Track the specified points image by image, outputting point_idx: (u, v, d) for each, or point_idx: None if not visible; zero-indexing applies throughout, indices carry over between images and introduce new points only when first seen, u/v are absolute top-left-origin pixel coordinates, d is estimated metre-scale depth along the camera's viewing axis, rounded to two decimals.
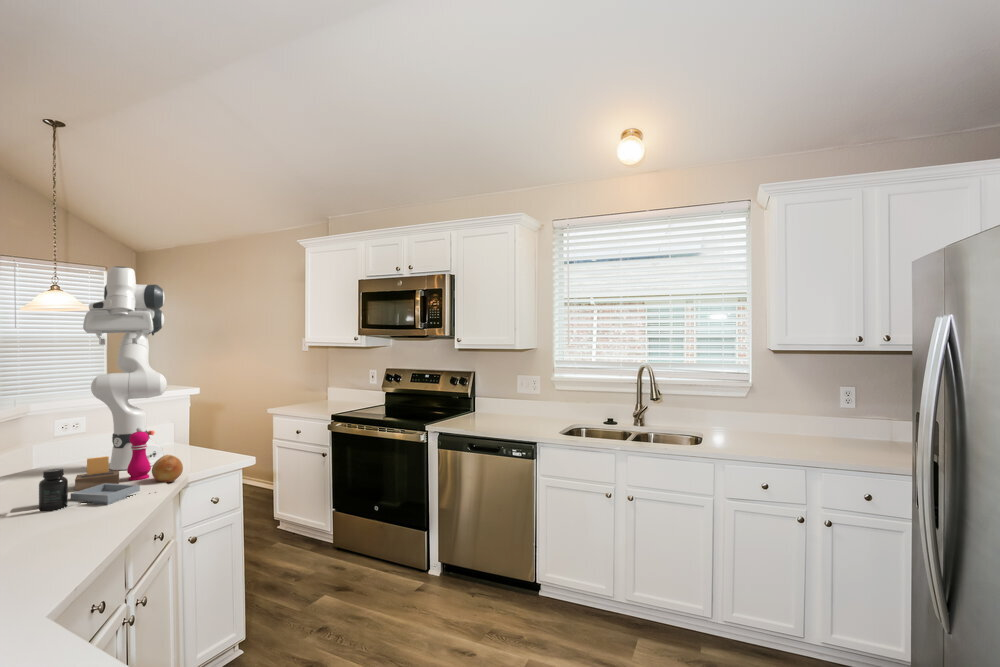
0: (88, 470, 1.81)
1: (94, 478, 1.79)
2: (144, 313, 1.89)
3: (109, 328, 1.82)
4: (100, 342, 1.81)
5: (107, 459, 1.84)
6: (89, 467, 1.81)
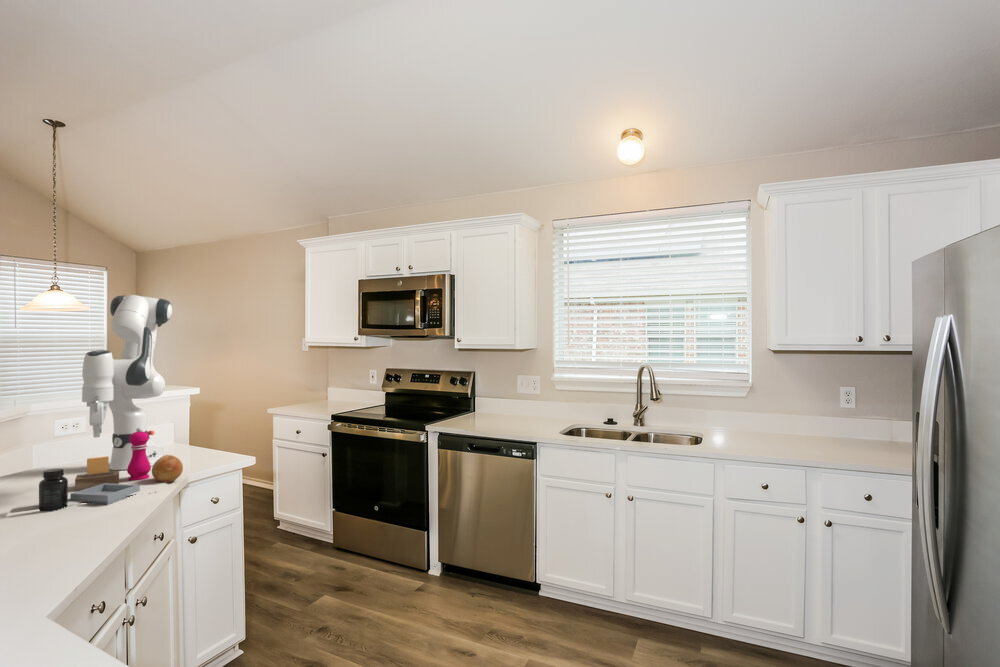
0: (88, 470, 1.81)
1: (94, 478, 1.79)
2: (90, 407, 1.76)
3: None
4: None
5: (107, 459, 1.84)
6: (89, 467, 1.81)
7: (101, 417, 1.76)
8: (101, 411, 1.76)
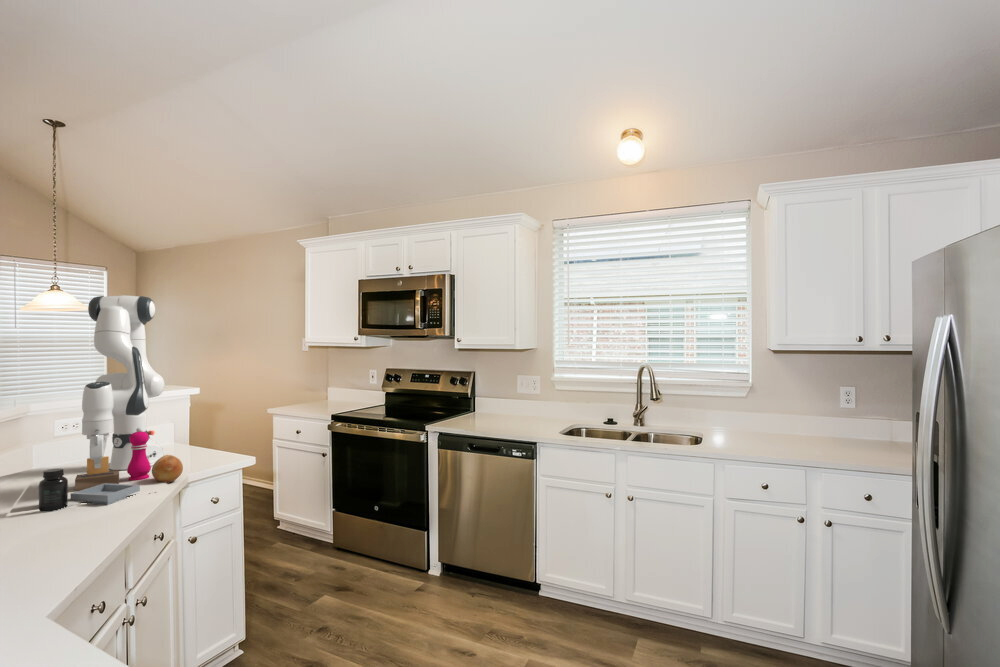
0: (88, 470, 1.81)
1: (94, 478, 1.79)
2: (90, 440, 1.76)
3: None
4: None
5: (107, 459, 1.84)
6: (89, 467, 1.81)
7: (101, 451, 1.76)
8: (101, 445, 1.76)
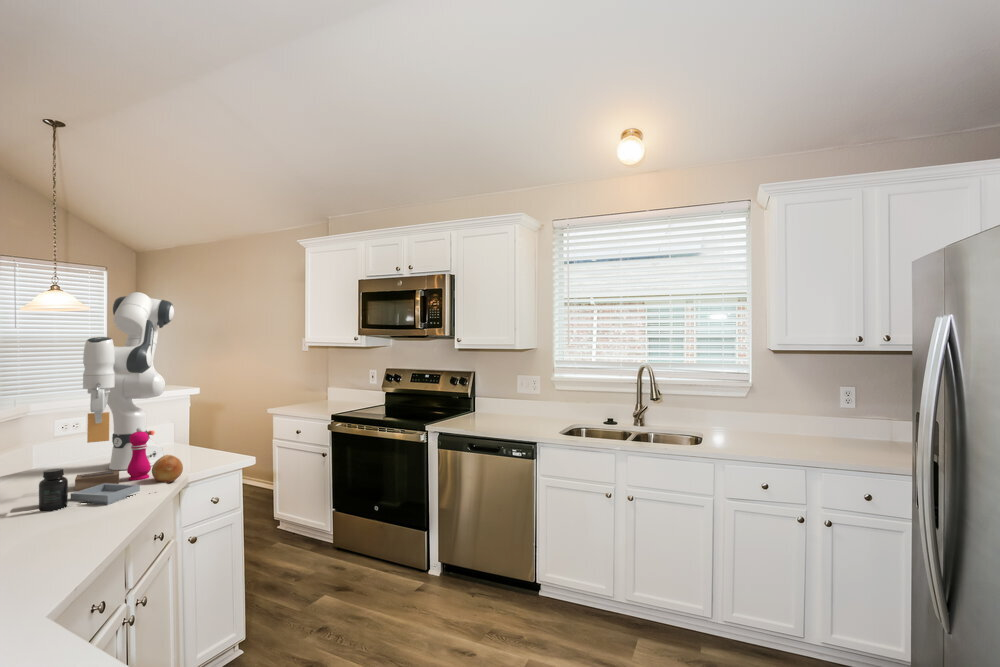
0: (89, 425, 1.80)
1: (94, 478, 1.79)
2: (90, 393, 1.75)
3: None
4: None
5: (108, 415, 1.83)
6: (90, 422, 1.80)
7: (102, 404, 1.74)
8: (102, 398, 1.75)
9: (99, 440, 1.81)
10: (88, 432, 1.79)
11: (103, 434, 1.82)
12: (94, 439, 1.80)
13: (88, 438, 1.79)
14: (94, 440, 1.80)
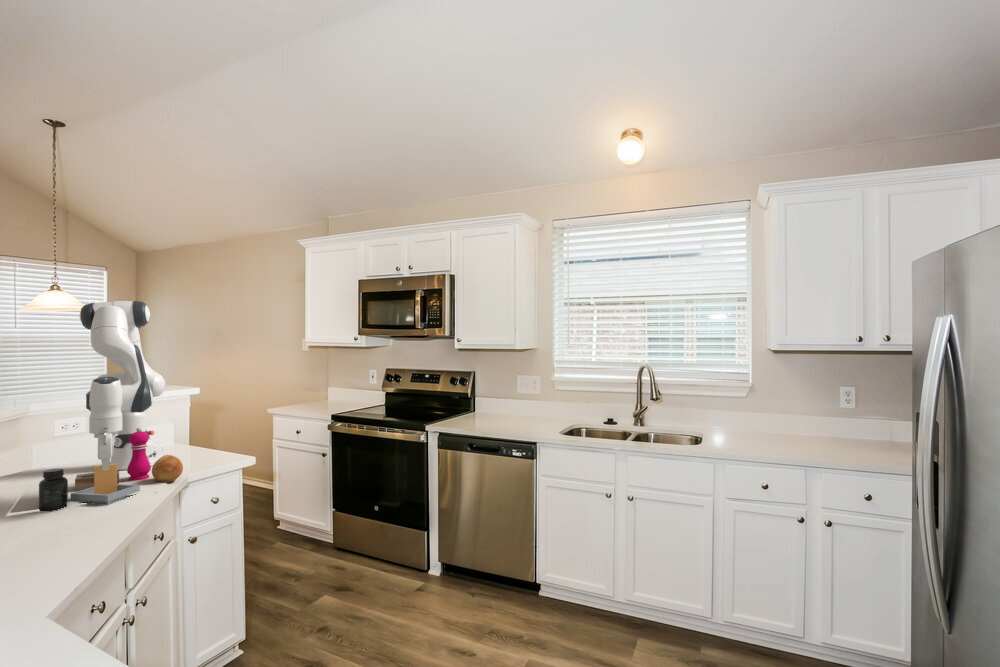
0: (95, 478, 1.70)
1: None
2: None
3: None
4: None
5: (115, 467, 1.73)
6: (96, 475, 1.70)
7: (110, 450, 1.65)
8: (110, 444, 1.65)
9: None
10: (95, 486, 1.70)
11: (111, 487, 1.72)
12: (101, 493, 1.71)
13: (95, 492, 1.70)
14: None
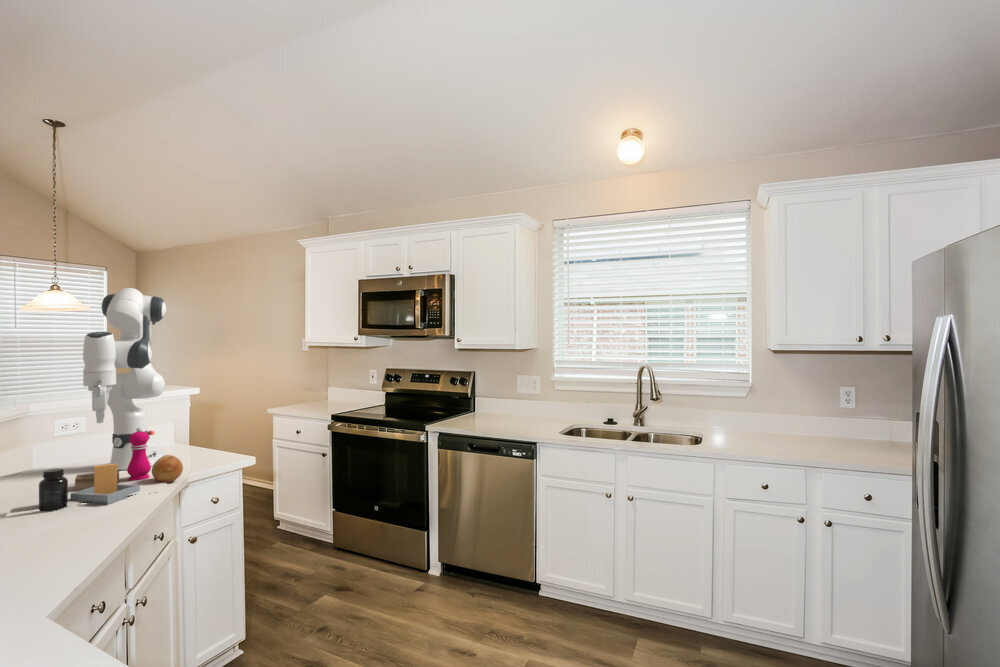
0: (95, 478, 1.70)
1: None
2: (92, 391, 1.68)
3: None
4: None
5: (115, 467, 1.73)
6: (96, 475, 1.70)
7: (104, 402, 1.68)
8: (104, 396, 1.68)
9: None
10: (95, 486, 1.70)
11: (111, 487, 1.72)
12: (101, 493, 1.71)
13: (95, 492, 1.70)
14: None
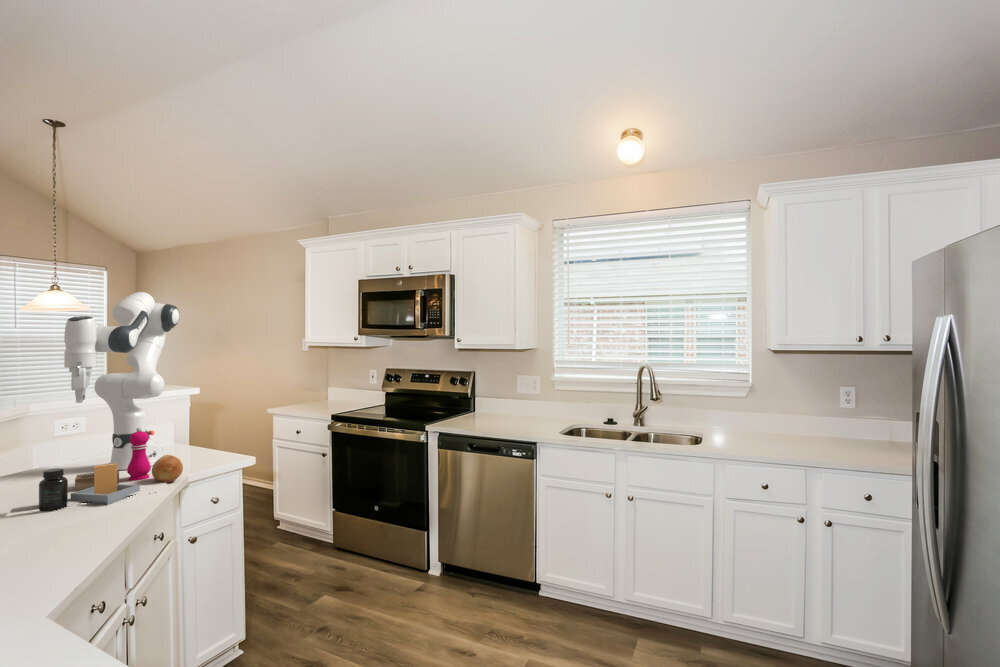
0: (95, 478, 1.70)
1: None
2: None
3: None
4: None
5: (115, 467, 1.73)
6: (96, 475, 1.70)
7: (83, 382, 1.75)
8: (83, 376, 1.75)
9: None
10: (95, 486, 1.70)
11: (111, 487, 1.72)
12: (101, 493, 1.71)
13: (95, 492, 1.70)
14: None
